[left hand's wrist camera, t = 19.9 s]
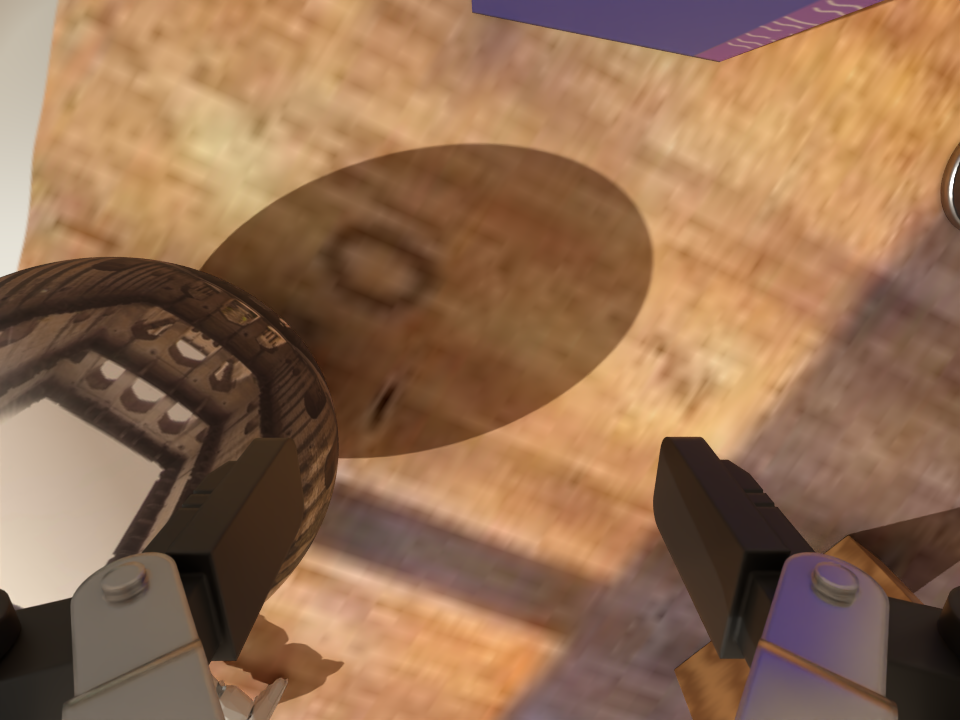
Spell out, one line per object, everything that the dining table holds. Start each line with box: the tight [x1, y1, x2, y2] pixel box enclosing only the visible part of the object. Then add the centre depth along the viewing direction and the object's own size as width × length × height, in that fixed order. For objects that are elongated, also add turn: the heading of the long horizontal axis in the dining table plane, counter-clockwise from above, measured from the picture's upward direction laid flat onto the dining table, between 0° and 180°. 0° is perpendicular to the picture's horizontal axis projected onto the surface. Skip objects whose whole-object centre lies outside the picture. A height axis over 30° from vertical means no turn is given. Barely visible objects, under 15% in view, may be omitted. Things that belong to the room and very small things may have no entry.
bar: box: [674, 535, 924, 720], centre depth 52 cm, size 24×5×8 cm, turn 142°
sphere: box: [0, 257, 339, 610], centre depth 34 cm, size 25×25×25 cm
